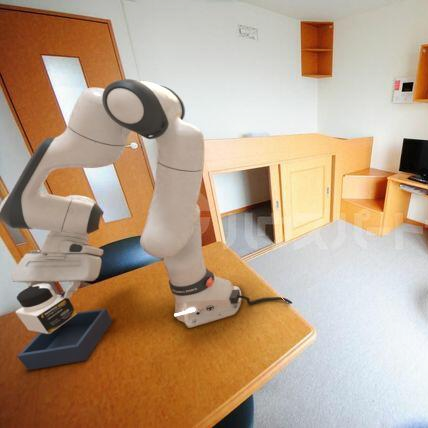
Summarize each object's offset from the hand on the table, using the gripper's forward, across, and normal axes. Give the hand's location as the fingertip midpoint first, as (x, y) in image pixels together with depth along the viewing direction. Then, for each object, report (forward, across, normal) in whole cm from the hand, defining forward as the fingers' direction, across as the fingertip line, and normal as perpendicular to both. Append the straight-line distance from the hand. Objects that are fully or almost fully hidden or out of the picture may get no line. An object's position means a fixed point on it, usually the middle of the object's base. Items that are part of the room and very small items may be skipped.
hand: (48, 298), depth 65 cm
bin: (+13, 0, +12) cm, 18 cm away
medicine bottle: (+6, 0, +4) cm, 8 cm away
